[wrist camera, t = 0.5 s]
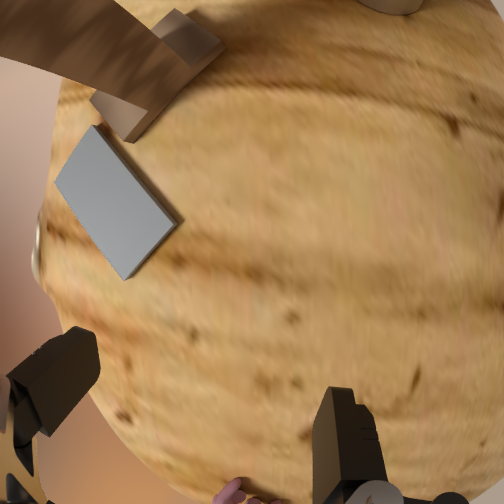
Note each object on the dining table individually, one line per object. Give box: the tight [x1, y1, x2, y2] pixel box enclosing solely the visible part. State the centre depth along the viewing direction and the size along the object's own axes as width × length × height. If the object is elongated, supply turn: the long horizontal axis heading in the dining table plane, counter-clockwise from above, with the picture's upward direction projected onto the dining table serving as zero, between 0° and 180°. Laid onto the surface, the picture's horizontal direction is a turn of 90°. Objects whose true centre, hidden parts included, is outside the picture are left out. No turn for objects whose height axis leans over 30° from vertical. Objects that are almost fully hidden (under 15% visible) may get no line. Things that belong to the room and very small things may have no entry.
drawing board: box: [54, 125, 178, 281], centre depth 30 cm, size 9×16×1 cm, turn 43°
